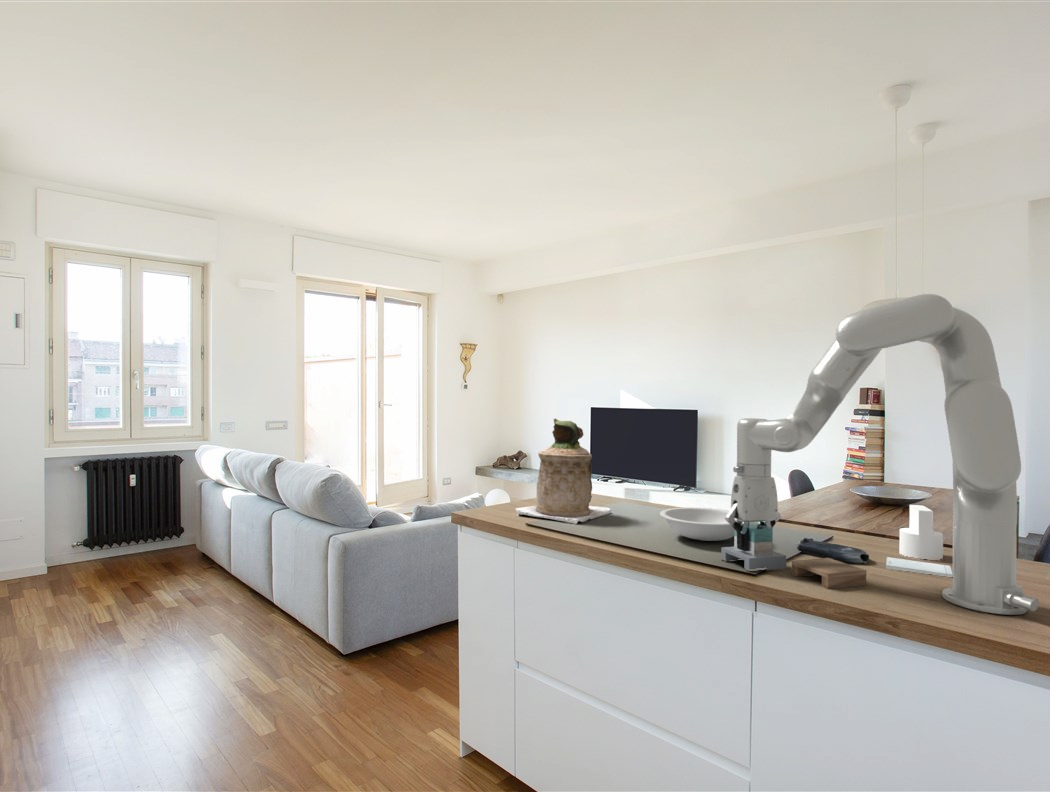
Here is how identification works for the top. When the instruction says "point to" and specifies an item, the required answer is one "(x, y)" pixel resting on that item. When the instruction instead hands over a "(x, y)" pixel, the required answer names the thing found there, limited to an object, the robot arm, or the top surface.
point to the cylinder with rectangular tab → (921, 535)
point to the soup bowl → (699, 523)
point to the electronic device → (833, 551)
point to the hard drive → (918, 567)
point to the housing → (757, 539)
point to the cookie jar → (565, 479)
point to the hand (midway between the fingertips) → (753, 548)
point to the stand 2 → (830, 572)
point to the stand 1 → (755, 559)
